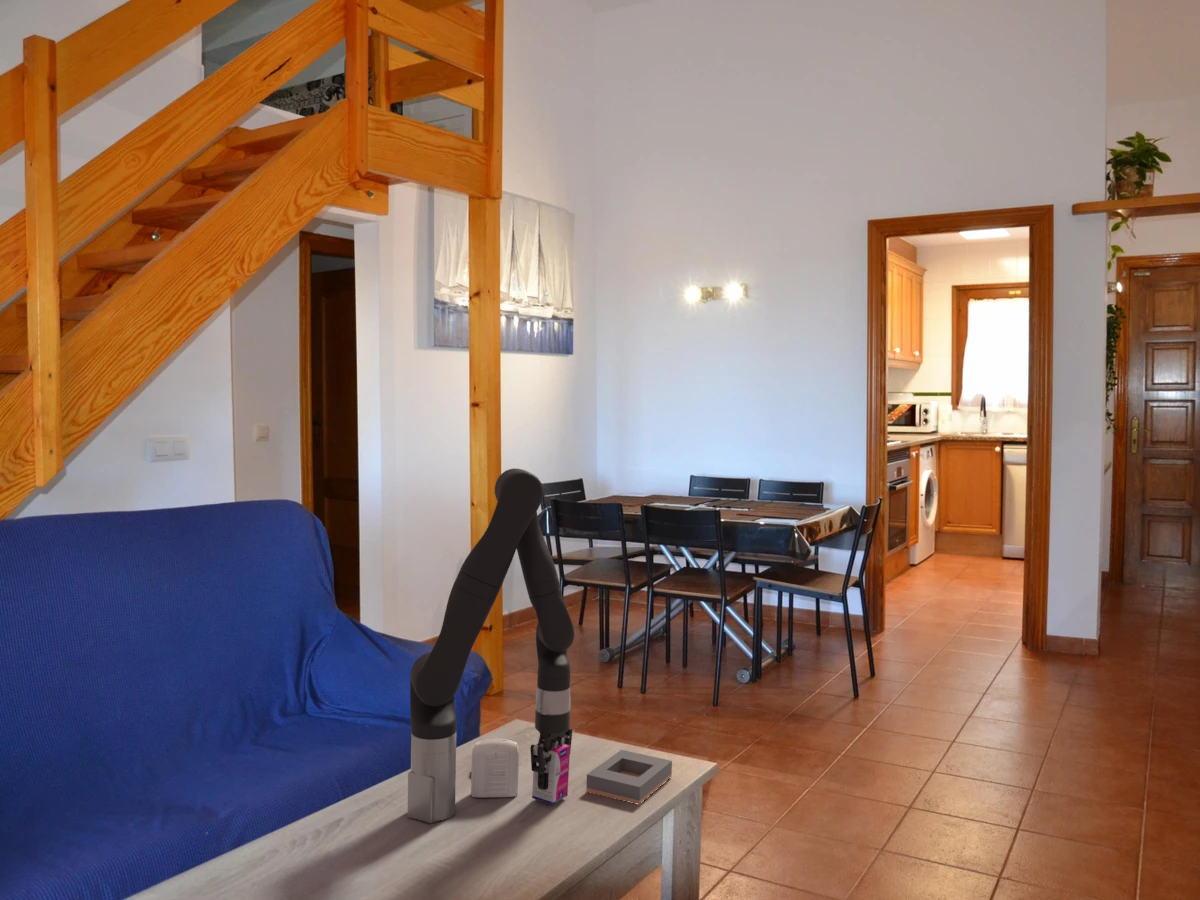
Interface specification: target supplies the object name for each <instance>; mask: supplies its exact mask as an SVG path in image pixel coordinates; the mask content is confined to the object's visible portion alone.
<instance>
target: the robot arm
mask: <svg viewBox="0 0 1200 900" xmlns="http://www.w3.org/2000/svg"><path fill="white" fill-rule="evenodd" d="M494 495H495V498H496V501H497V502H496V506H495V509H494V512H493V514H492V517H491V519H490V521H489V523H488V526H487V528H486V530H485V532H483V535H482V536H481V537H480V538H479V540H478V541H477V542H476V544H475V545H474V547H473V548H472V549H471V551H470V552H469V554H468V555H467V557H466V558H465V560H464V561H463V563H462V565H461V567H460V569H459V571H458V573H457V576H456V577H455V579H454V582H453V585H452V587H451V590H450V593H449V595H448V600H447V603H446V607H445V611H444V612H445V613H444V616H443V621H442V625H441V629H440V632H439V634H438V637H437V639H436V641H435V643H434V645H433V648H432V649H431V651H429V652H425V653H423V654H421V655H420V656H419V657H417V659H416V660H415V661H414V663H413V665H411V669H410V675H409V677H410V678H409V704H410V705H409V706H410V707H409V709H410V711H409V713H410V714H409V715H410V725H411V726H410V731H411V734H410V737H411V738H410V739H411V741H410V771H409V772H408V773H407V818H409V817H410V818H409V819H413V818H414V819H413V820H416V819H418V820H417V821H420V820H422V821H421V822H423V821H425V822H424V823H427V822H428V823H427V824H430V823H431V824H434V823H435V822H434V821H436V822H440V820H441V821H444V819H445V820H447V819H450V818H451V817H452V815H453V816H454V814H455V813H456V788H457V787H456V786H457V785H456V782H457V781H456V780H457V779H456V778H457V777H456V776H457V771H456V769H457V716H456V706H455V695H456V693H457V692H458V690H459V687H460V684H461V682H462V681H461V680H462V677H463V674H464V671H465V668H466V666H467V662H468V659H469V657H470V653H471V651H472V648H473V646H474V644H475V642H476V640H477V639H478V636H479V635H480V632H481V631H482V628H483V626H484V624H485V622H486V620H487V619H488V616H489V614H490V612H491V610H492V608H493V606H494V604H495V602H496V599H497V597H498V596H499V592H500V590H501V588H502V585H503V584H504V582H505V579H506V576H507V574H508V571H509V569H510V566H511V564H512V562H513V560H514V557H515V554H516V551H517V556H518V560H519V563H520V567H521V571H522V576H523V579H524V580H523V581H524V583H525V587H526V591H527V594H528V599H529V601H530V603H531V606H532V607H533V609H534V611H535V613H536V617H537V624H536V629H535V643H536V653H537V666H538V667H537V678H536V679H537V683H536V685H537V686H536V693H535V707H534V708H535V712H534V714H535V715H534V716H535V717H534V728H535V729H536V731H537V732H539V736H538V737H539V738H538V743H537V744H530V750H529V751H530V764H531V771H532V772H534V771H535V772H538V788H539V789H542V790H546V789H548V777H549V772H548V771H549V763H550V762H551V760H552V754H550V755H549V757H548V758H546V757H544V754H543V753H544V752H545V753H548V752H549V751H550V750H551V751H554V750H556V749H557V746H559V745H560V746H562V745H564V744H566V745H570V752H572V751H571V749H572V739H573V729H572V728H571V702H572V701H571V700H572V699H571V665H570V662H569V659H568V655H567V653H568V652H567V651H568V649H569V648H570V647H571V646H572V645H573V643H574V641H575V628H574V624H573V621H572V618H571V616H570V613H569V610H568V607H567V605H566V602H565V601H564V597H563V594H562V587H561V584H560V580H559V576H558V572H557V568H556V565H555V562H554V560H553V557H552V555H551V552H550V550H549V547H548V544H547V542H546V540H545V537H544V535H543V531H542V529H541V526H540V522H539V521H540V520H539V517H538V510H539V508H540V506H541V504H542V503H543V502H542V501H543V497H544V487H543V484H542V482H541V480H540V478H539V477H538V476H537V475H535V474H534V473H532V472H530V471H528V470H526V469H525V470H524V469H521V468H510V469H506V470H505V471H503V472H502V473H501V474H500V475H499V476H498V478H497V479H496V482H495V485H494ZM544 761H546V764H545V767H544ZM536 762H537V766H536Z"/></svg>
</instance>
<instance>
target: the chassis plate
mask: <svg viewBox="0 0 1200 900" xmlns="http://www.w3.org/2000/svg"><path fill="white" fill-rule="evenodd" d="M672 770H673V761H672V760H670V759H665V758H661V757H657V756H653V755H652V756H651V755H647V754H642V753H639V752H638V753H637V752H633V751H628V750H623V749H621V750H619V751H618V752H616V753H614V754H613V755H612V756H611V757H609V758H608V759H606V760H605V761H604V762H602V763H601V764H599V765H598V766H596V767H595V768H593V770H591V771H590V772H588V773H587V774H586V787H585V788H586V790H585V791H586V793H588V792H591V793H590V794H592V793H594V794H593V795H596V794H597V795H598V796H600V795H602V796H601V797H604V796H607V797H606V798H608V797H611V798H610V799H612V798H616V799H620V800H625V801H630V802H633V803H638V804H640V803H641V802H642V801H643V800H645V799H646V798H647V797H648V796H649V795H650V794H651V793H652V792H654V791H655V790H656V789H657V788H658V787H660V785H662V784H663V783H664V782H665V781H667V780H668V779H669V778H670V777H672V772H673V771H672ZM668 781H669V780H668ZM668 781H667V782H668ZM660 788H661V787H660ZM654 793H655V792H654ZM648 798H649V797H648ZM648 798H647V799H648ZM616 799H615V800H616ZM647 799H646V800H647ZM620 800H619V801H620ZM646 800H645V801H646ZM641 804H642V803H641ZM641 804H640V805H641Z"/></svg>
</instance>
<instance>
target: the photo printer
mask: <svg viewBox="0 0 1200 900" xmlns="http://www.w3.org/2000/svg"><path fill="white" fill-rule="evenodd" d="M473 746H474V747H473V748H472V752H471V777H470V781H471V782H470V783H471V784H470V795H471V797H472V798H511V797H513V798H515V797H516V796H518V795H519V771H520V752H519V746H518V742H516V741H514V740H510V739H505V738H488V739H483V740H479V741H477V742H475V743H474V745H473ZM514 796H515V797H514Z"/></svg>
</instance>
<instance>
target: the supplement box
mask: <svg viewBox="0 0 1200 900" xmlns="http://www.w3.org/2000/svg"><path fill="white" fill-rule="evenodd" d="M543 754H544V757H546V758H548V757H549V755H550V754H552V760H551V762H550V763H549V771H548V772H549V777H548V789H546V790H542V789H539V788H538V772H535V771H532V773H533V774H532V777H533V778H532V791H531V792H532V793H531V794H532V795H531V798H532V799H533V800H537V801H539V802H542V803H546V804H549V805H555V804H556V803H558V802H559V801H561V800H562V799H564V798H566V797H567V796H568V792H569V777H570V775H569V774H570V773H569V771H570V757H571V756H570V755H571V751H570V745H566V744H564V745H562V746H560V745H559V746H557V749H556V750H554V751H551V750H550V751H549V752H548V753H545V752H544V753H543ZM545 764H546V761H544V767H545ZM536 766H537V762H536Z"/></svg>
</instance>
